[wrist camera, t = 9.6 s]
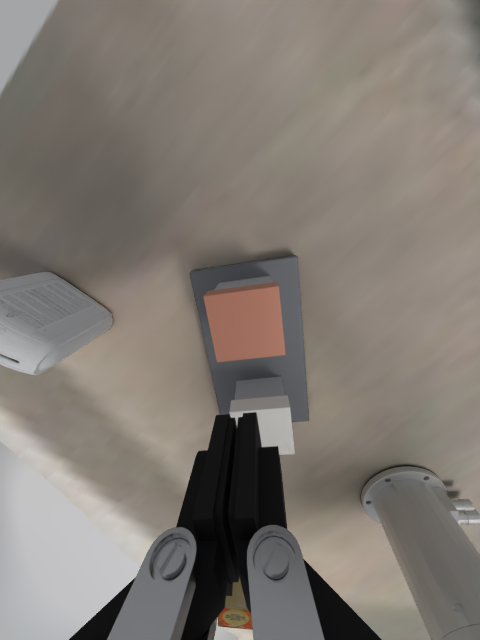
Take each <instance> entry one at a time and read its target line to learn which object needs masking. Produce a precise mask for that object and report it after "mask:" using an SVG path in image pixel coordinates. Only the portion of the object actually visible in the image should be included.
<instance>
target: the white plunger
mask: <svg viewBox="0 0 480 640" xmlns="http://www.w3.org/2000/svg"><path fill="white" fill-rule="evenodd" d="M252 412H256V413H257V419H258V425H259V432H260V438H261V445H262V447H273V446H278V449H279V455H286V454H295V450H294V440H293V430H292V420H291V411H290V404H289V399H288V395H284V396H273V397H262V398H251V399H239V400H231V404H230V412H229V413H230V416H231V418H235V420H236V425H237V424H238V417H243V413H252Z"/></svg>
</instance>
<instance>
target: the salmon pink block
mask: <svg viewBox="0 0 480 640" xmlns="http://www.w3.org/2000/svg"><path fill="white" fill-rule="evenodd" d="M203 297H204V302H205V306H206V311H207V316H208V321H209V326H210V331H211V336H212V341H213V345H214V350H215V355H216V360H217V362H224V361H234V360H243V359H253V358H262V357H272V356H281V355H286V354H285V344H284V334H283V324H282V314H281V304H280V293H279V286H278V283H277V282H271V283H263V284H256V285H249V286H241V287H234V288H227V289H220V290H212V291H207V293H206V294H205V295H204V296H203Z"/></svg>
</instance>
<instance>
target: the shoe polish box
mask: <svg viewBox="0 0 480 640" xmlns="http://www.w3.org/2000/svg"><path fill="white" fill-rule="evenodd" d="M218 626H221V627H231V628H241V629H252V630H253V627H252V615H251V613H250V612H249V610H248V609H247V606H246V602H245V598H244V594H243V590H242V585H241V581H240V577H239V581H238V582H233V590H232V596H226V601H225V608H224V609H223V611H222V612H221V613H220V614H219V616H218Z"/></svg>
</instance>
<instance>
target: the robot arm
mask: <svg viewBox="0 0 480 640" xmlns="http://www.w3.org/2000/svg"><path fill="white" fill-rule="evenodd" d="M361 501H362V504H363V507H364V509H365V511H366V513H367V514H368V516H370V517H371V518H372V519H373V520H375V521H377V522H378V523H381V524H382V527H383V529H384V531H385V534H386V536H387V538H388V540H389V543H390V545H391V547H392V550H393V552H394V554H395V557H396V559H397V561H398V564H399V566H400V568H401V570H402V573H403V575H404V577H405V580H406V582H407V584H408V587H409V589H410V591H411V594H412V596H413V598H414V601H415V603H416V605H417V607H418V610H419V612H420V614H421V617H422V619H423V621H424V624H425V626H426V628H427V631H428V633H429V635H430V637H431V640H480V554H479V553H478V551H477V550H476V548H475V547H474V545H473V544H472V543H471V541H470V540H469V538H468V537H467V535H466V534H465V532H464V531H463V530H462V528H461V527H460V524H468V525H472V524H480V515H479V513H478V512H477V511H476V510H475V509H474V506H473V504H472V502H471V501H470V500H469V499H458V500H452V499H451V498H448V496H447V490H446V487H445V486H444V484H443V483H442V481H441V480H440V479H439V478H438V477H437V476H436V475H435V474H434V473H432V472H431V471H428V470H426V469H423V468H418V467H410V466H405V467H396V468H391V469H388V470H385V471H383V472H381V473H379V474H377V475H376V476H374V477H373V478H371V479H370V480H369V481H368V482H367V484H366V485H365V487H364V488H363V491H362V494H361ZM239 577H240V581H241V585H242V590H243V594H244V598H245V602H246V606H247V609H248V610H249V612H250V613H251V615H252V627H253V638H254V640H381V639H380V638H379V637H378V636H377V634H376V633H375V632H374V631H373V630H372V629H371V628H370V627H369V626H368V625H367V624H366V623H365V622H364V621H363V620H362V619H361V618H360V617H359V616H358V615H357V614H356V613H355V612H354V611H353V610H352V609H351V608H350V607H349V605H348V604H347V603H346V602H345V601H344V600H343V599H342V598H341V597H340V596H339V595H338V594H337V593H336V592H335V591H334V590H333V589H332V588H331V587H330V586H329V585H328V584H327V583H326V582H325V581H324V580H323V579H322V578H321V576H320V575H319V574H318V573H317V572H316V571H315V570H314V569H313V568H312V567H311V566H310V565H309V564H308V563H307V562H306V561H305V560H304V559H303V556H302V553H301V549H300V547H299V544H298V542H297V540H296V538H295V537H294V536H293V535H292V533H291V532H289V531H288V530H287V522H286V512H285V502H284V492H283V482H282V473H281V464H280V456H279V449H278V446H273V447H262V445H261V438H260V432H259V425H258V419H257V413H256V412H252V413H243V417H238V424H237V425H236V420H235V418H231V416H230V414H226V415H216V418H215V422H214V426H213V430H212V435H211V439H210V443H209V448H208V450H207V451H198V453H197V455H196V458H195V462H194V466H193V469H192V473H191V476H190V480H189V483H188V487H187V491H186V494H185V498H184V501H183V505H182V508H181V512H180V516H179V519H178V523H177V526H176V527H175V528H172V529H169V530H167V531H165V532H164V533H163V534H161V535H160V536H159V537H158V538H157V539H156V540H155V541H154V542H153V544H152V546H151V547H150V549H149V551H148V552H147V555H146V557H145V559H144V561H143V563H142V565H141V568H140V570H139V572H138V574H137V576H136V578H135V579H133V580H132V581H131V582H130V583H129V584H128V585H127V586H126V587H125V588H124V589H123V590H122V591H121V592H119V593H118V594H117V595H116V596H115V597H114V598H113V599H112V600H111V601H110V602H109V603H108V604H107V605H106V606H105V607H103V608H102V609H101V610H100V611H99V612H98V613H97V614H96V615H95V616H94V617H93V618H92V619H91V620H90V621H88V622H87V623H86V624H85V625H84V626H83V627H82V628H81V629H80V630H79V631H78V632H77V633H76V634H75V635H73V636H72V637H71V638H70V639H69V640H214V635H215V631H216V624H217V617H218V616H219V614H220V613H221V612H222V611H223V609H224V608H225V601H226V596H232V590H233V582H238V581H239Z"/></svg>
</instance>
